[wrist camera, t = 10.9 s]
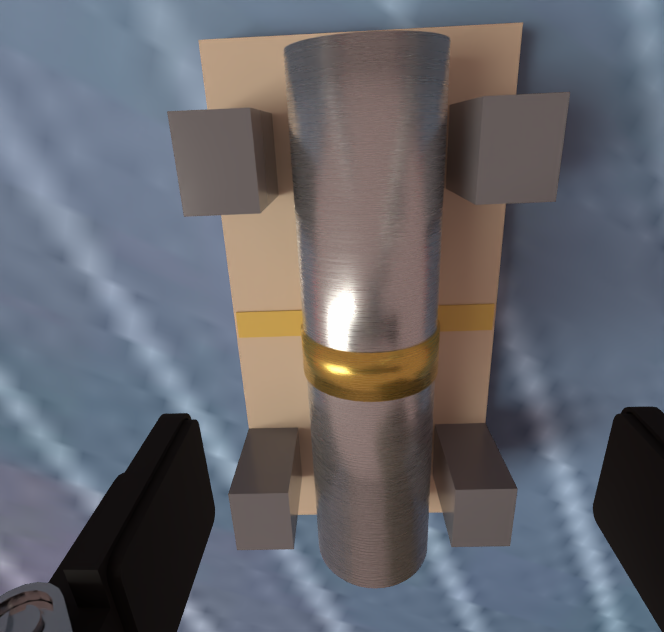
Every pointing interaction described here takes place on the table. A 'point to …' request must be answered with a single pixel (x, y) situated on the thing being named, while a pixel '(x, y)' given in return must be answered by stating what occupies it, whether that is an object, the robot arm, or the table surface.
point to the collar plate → (284, 280)
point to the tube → (370, 285)
